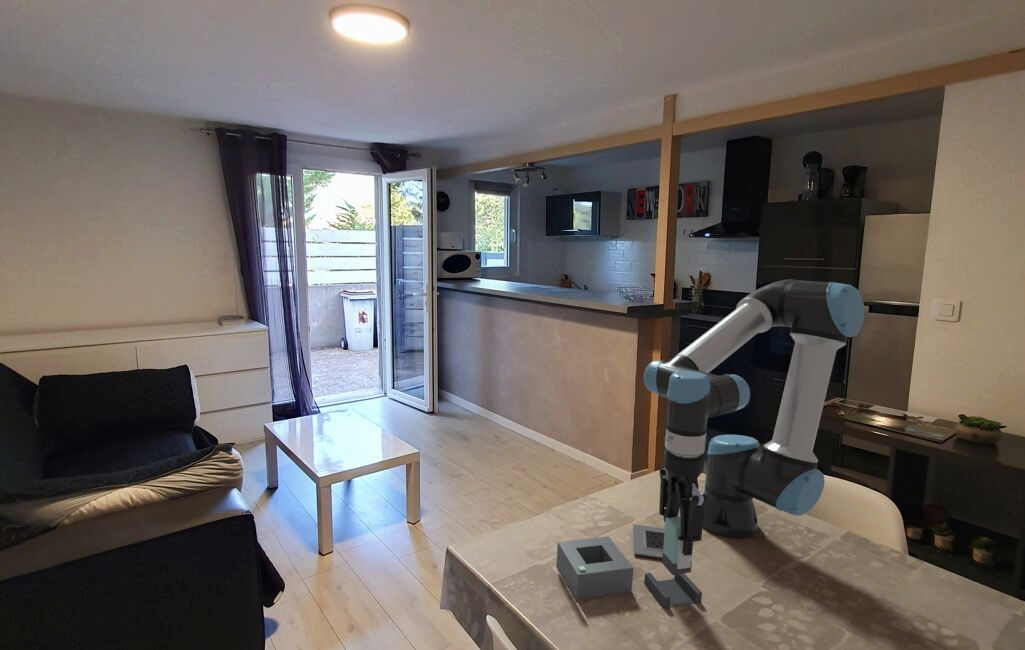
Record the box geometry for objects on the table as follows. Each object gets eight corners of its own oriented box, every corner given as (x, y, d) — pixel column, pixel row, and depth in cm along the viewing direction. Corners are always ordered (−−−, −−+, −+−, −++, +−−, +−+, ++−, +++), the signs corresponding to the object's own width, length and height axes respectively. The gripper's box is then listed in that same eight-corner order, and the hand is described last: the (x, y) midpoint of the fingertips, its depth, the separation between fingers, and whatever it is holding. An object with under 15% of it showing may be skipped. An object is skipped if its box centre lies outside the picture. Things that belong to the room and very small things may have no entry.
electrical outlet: (681, 568, 120) (682, 558, 119) (633, 561, 122) (634, 551, 122) (676, 537, 133) (677, 528, 132) (632, 531, 135) (633, 523, 134)
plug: (679, 560, 111) (682, 515, 110) (690, 572, 107) (694, 526, 106) (662, 563, 110) (664, 518, 109) (672, 575, 106) (675, 528, 105)
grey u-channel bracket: (679, 581, 114) (680, 568, 114) (701, 606, 107) (702, 592, 106) (643, 586, 112) (644, 573, 112) (663, 611, 104) (664, 597, 104)
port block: (606, 561, 121) (608, 534, 120) (631, 594, 109) (633, 565, 108) (556, 567, 118) (557, 540, 117) (576, 602, 106) (577, 572, 105)
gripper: (645, 436, 112) (639, 539, 116) (692, 471, 96) (683, 589, 99) (677, 433, 114) (671, 535, 118) (728, 467, 98) (719, 583, 101)
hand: (676, 559), depth 109 cm, fingers closed on plug, 4 cm apart
